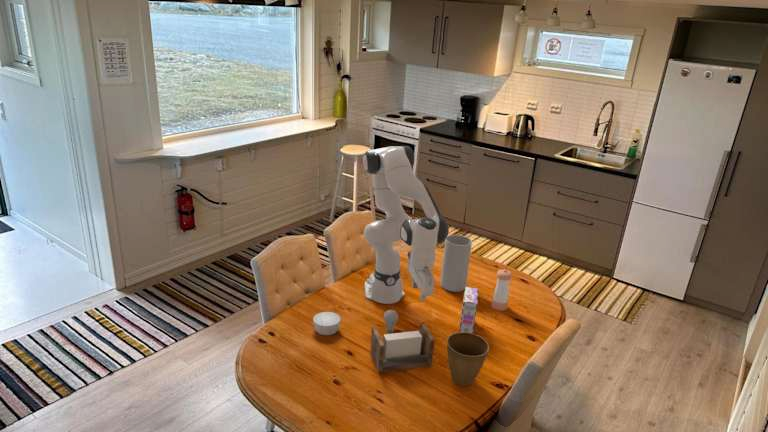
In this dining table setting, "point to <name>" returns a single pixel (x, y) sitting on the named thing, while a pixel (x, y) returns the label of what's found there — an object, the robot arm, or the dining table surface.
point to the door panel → (402, 344)
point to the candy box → (469, 309)
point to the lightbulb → (390, 320)
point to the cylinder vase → (455, 262)
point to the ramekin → (326, 323)
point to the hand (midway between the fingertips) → (418, 293)
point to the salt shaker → (501, 290)
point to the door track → (402, 362)
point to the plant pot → (465, 356)
